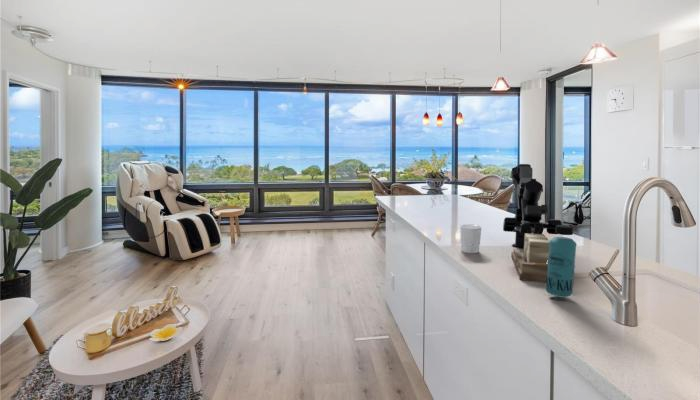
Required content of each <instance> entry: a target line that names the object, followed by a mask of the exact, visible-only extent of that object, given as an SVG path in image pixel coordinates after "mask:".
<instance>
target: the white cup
mask: <svg viewBox="0 0 700 400" xmlns="http://www.w3.org/2000/svg"><path fill="white" fill-rule="evenodd" d="M459 227H460V228H459V229H460V234H459V236H460V250H461V252H462V253H466V254H477V253H479V252H480V245H481V238H482V237H481V236H482V226H480V225H477V224H461V225H460V226H459Z"/></svg>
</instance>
